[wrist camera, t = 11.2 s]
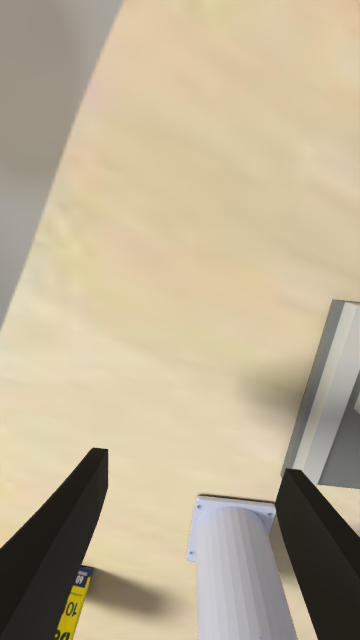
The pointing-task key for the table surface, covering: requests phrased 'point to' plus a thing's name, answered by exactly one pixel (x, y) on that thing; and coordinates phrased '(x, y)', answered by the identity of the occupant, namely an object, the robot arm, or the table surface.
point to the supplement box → (74, 605)
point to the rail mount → (331, 405)
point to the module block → (357, 404)
